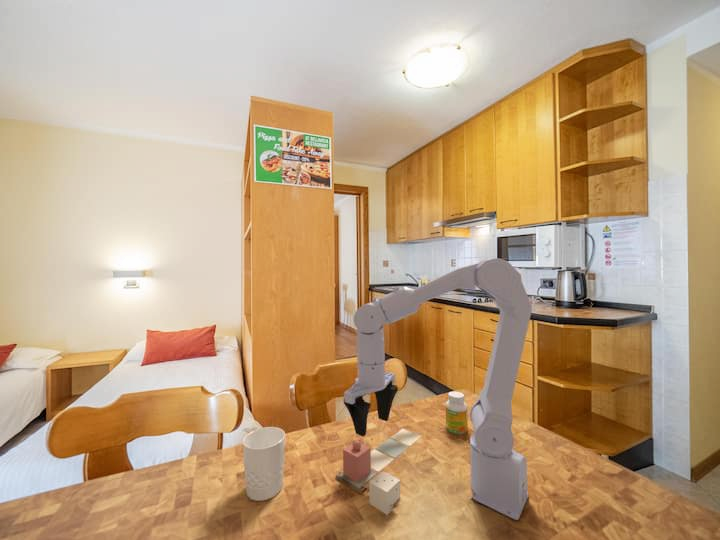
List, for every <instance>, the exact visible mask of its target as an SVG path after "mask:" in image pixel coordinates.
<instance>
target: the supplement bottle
mask: <svg viewBox="0 0 720 540" xmlns="http://www.w3.org/2000/svg"><path fill="white" fill-rule="evenodd" d="M445 428H446V430H447V431H448V432H450V433H452V434H456V435H464V434H466V433H467V432H469V431H468V405H467V403H466V402H465V394H463V393H462V392H459V391H449V392H448V400H447V401H446V403H445Z"/></svg>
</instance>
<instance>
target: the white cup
mask: <svg viewBox="0 0 720 540" xmlns="http://www.w3.org/2000/svg"><path fill="white" fill-rule="evenodd" d="M285 447H286V432H285V430H284V429H282V428H280V427H277V426H276V427H275V426H266V427H265V426H264V427H260V428H256V429H254V430H252V431H251V432H249V433H248V434H246V435H245V436H244V437H243V439H242V450H243V454H242V455H243V466H244V467H243V468H244V471H243V472H244V479H245V487H246V488H245V489H246V490H245V491H246V496H247V497H248V498H249V499H250V500H252V501H256V502H261V501H267V500H270V499H271V498H274V497H275V496H277V495H278V494H279V493H280V492H281V490H282V488H283V485H284V479H283V478H284V467H285V449H286V448H285Z"/></svg>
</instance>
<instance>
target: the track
mask: <svg viewBox="0 0 720 540" xmlns="http://www.w3.org/2000/svg"><path fill="white" fill-rule="evenodd" d="M420 438H422V435H419V434H417V433H415V432H412V431H410V430H407V429H405V428H402V429H400V430H398V432H396V433H394V434H393V435H392V436H390V438H387V439H386V440H385V441H383V442H382V443H381V444H380V445H378V446H377V447H376V448H375V447H374V448H375V449H372V450H371V473H370V474H369V475H367V476H366V477H365V478H364V479H362V480H361V481H360V482H359V483H357V482H355V481H354V480H352V479H350V478H349V477H347V476H346V475H344V474H343V471H341V472H338V473H337V474H335V479H336V480H337V481H340V482H341V483H342V484H344V485H346V486H347V487H349V488H351V489H352V490H354V491H355V492H356V493H358V494H360V495H363V494H364V493H365V492H366V491H368V488H366V487H364V485H365V484H366V483H368V481H369V482H370V481H371V480H372V479H373V478H374V477H376V476H377V475H378V473H380V472H382V471H383V469H385V467H387V466H388V465H389V464H390V463H392V462H393V461H394V460H395V459H397V457H399V456H400V455H401V454H402V453H403V452H404V451H406V450H407V449H408V448H409V447H411V446H412V445H413V444H414V443H416V441H418V440H419V439H420Z"/></svg>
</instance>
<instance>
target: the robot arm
mask: <svg viewBox="0 0 720 540" xmlns="http://www.w3.org/2000/svg"><path fill="white" fill-rule="evenodd" d="M477 288H478V289H479V290H480V291H481V292H483V293H485V294H486V295H487V296H489V297H490V299H491V301H492V302H493V303H494V305H495V306H496V307H497V309H498V310H499V317H498V320H497V324H496V329H495V334H494V339H493V343H492V347H491V352H490V356H489V361H488V365H487V370H486V374H485V378H484V384H483V388H482V389H481V390H480V392H479V393H478V398H477V400H476V402H475V403H474V404H472V406H471V408H470V410H469V418H470V420H471V423H472V426H473V433H472V434H471V436H470V439H469V450H470V451H469V452H470V453H469V455H470V457H469V458H470V465H469V466H470V488H471V490H472V492H473V494H472V496H471V499H472V500H473V501H476V502H478V503H480V504H482V505H484V506H486V507H488V508H489V509H490V508H491V509H492V510H495V511H496V512H498V513H501V514H503V515H504V516H506V517H509V518H511V519H512V520H515V521H519V519H520V516H521V514H522V512H523V510H524V507H525V504H526V502H527V500H528V497H529V492H528V462H527V458H526V456H525V455H522V454H520V453H519V452H517V451H516V450H514V449H513V448H514V445H515V443H514V441H515V440H514V439H515V438H514V436H513V431H512V425H513V410H512V409H513V408H512V400H513V395H514V391H515V386H516V381H517V378H518V373H519V369H520V364H521V359H522V355H523V351H524V347H525V341H526V338H527V333H528V328H529V325H530V320H531V314H532V310H533V309H532V307H533V306H532V303H531V301H530V298H529V296H528V294H527V291H526V289H525V286H524V283H523V279H522V274H521V273H520V272H519V271H518V270H517V269H516V268H515V267H514V266H513V265H512V264H511V263H510V262H509V261H507V260H505V259H503V258H498V257H496V258H495V257H493V258H489V259H486V260H482V261H480V262H477V263H474V264H469V265H467V266H462V267H459V268H456V269H454V270H451V271H449V272H447V273H446V274H442V275H441V276H439V277H436V278H435V279H432V280H431V281H429V282H427V283H425V284H423V285H421V286H418V287H416V288H415V289H414V288H411V287H408V286H402V287H400V286H399V285H398V286H395V287H394V288H392V292H390V293H389V292H388V294H386V295H383V296H380V297H378V296H376V297H373V298H372V302H368V303H364V304H363V305H361V306H359V307H358V308H357V309H356V311H355V312H354V314H353V323H354V326H355V328H356V330H357V331H356V333H357V334H356V335H357V336H356V337H357V339H356V346H357V347H356V348H357V349H356V350H357V351H356V353H357V359H356V360H357V377H356V378H355V379H354V382H355V383H354V384H353V385H352V386H351V387H350V388H349V389H347V390H346V391H344V395H343V396H344V398H343V405H344V406H345V407H346V409H347V411H348V412H349V415H350V417H351V420H352V423H353V427H354V431H355V434H356V435H359V436H360V437H365V436H366V434H367V430H368V429H367V427H368V415H369V411H370V408H371V405H372V404H371V402H367V401H365V399H364V397H365V396H367V395H369V394H372V393H374V395H375V398H376V407H377V409H376V410H377V417H378V419H379V420H381V421H385V422H388V421H389V418H390V413H391V409H392V405H393V401H394V398H395V397H396V395H397V392H398V389H399V388H398V386H397V385H395V383H396V374H395V373H392V372H386V356H385V355H386V354H385V351H386V350H385V337H384V336H385V335H384V325H390V324H392V323H396V322H397V321H400V320H403V319H404V318H407V317H409V316H411V315H413V314H414V315H415V314H417V312H418V311H419V308H420V305H421V304H422V303H425V302H428V301H429V300H433V299H435V298H437V297H440V296H442V295H445V294H448V293H450V292H452V291H455V290H457V289H464V290H477Z"/></svg>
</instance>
